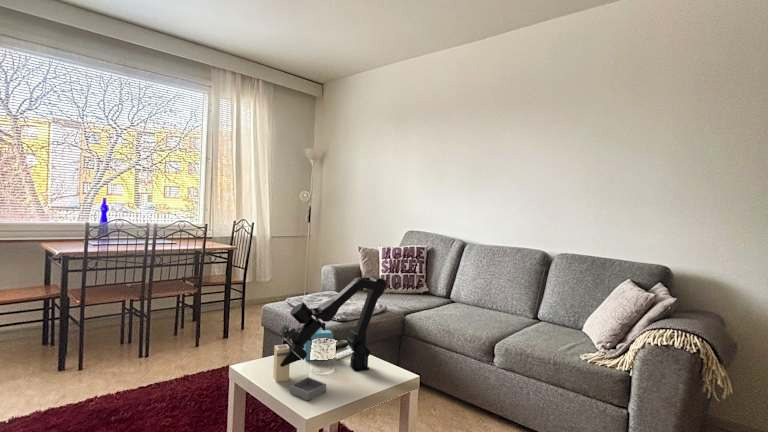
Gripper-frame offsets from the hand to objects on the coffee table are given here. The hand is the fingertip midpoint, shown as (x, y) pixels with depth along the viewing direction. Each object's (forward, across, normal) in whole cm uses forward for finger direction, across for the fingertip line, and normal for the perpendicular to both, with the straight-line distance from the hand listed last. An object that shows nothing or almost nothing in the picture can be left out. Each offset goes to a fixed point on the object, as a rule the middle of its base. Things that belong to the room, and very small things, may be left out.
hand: (278, 361), depth 166 cm
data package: (-10, -15, +20) cm, 27 cm away
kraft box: (+4, 0, +6) cm, 7 cm away
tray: (-1, +15, +10) cm, 18 cm away
